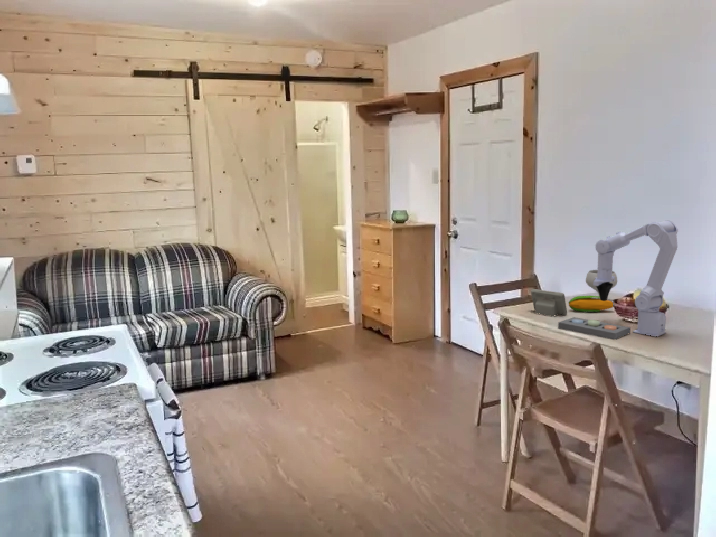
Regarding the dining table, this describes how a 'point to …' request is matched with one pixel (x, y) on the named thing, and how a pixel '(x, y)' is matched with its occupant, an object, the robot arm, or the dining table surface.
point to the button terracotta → (610, 327)
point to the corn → (589, 304)
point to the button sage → (593, 323)
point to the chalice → (591, 277)
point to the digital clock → (548, 302)
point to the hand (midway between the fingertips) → (603, 300)
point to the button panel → (594, 328)
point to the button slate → (577, 321)
